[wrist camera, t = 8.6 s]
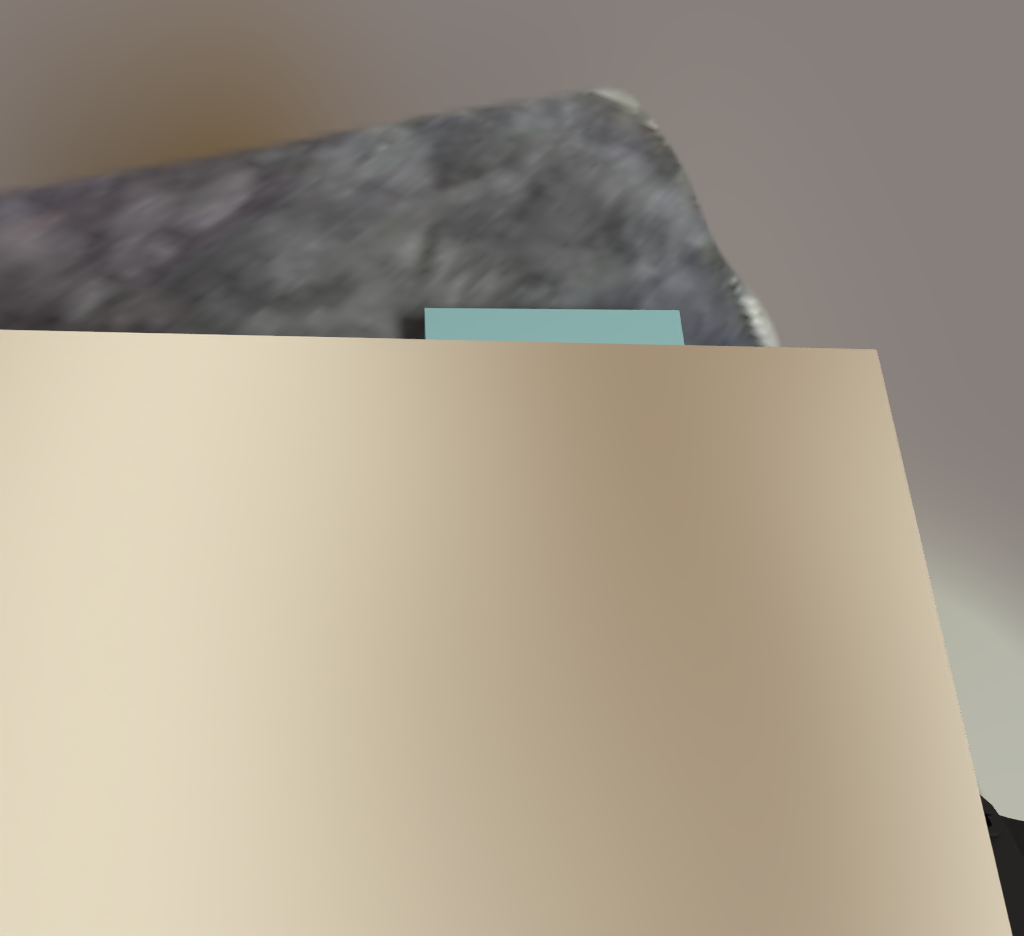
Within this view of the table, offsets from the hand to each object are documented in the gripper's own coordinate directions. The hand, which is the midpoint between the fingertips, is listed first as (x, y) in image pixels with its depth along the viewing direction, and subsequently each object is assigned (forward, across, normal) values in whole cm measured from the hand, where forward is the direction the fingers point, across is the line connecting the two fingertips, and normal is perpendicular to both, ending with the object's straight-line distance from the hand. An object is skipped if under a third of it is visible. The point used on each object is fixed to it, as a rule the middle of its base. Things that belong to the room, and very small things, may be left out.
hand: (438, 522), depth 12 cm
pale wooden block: (0, 0, -5) cm, 5 cm away
